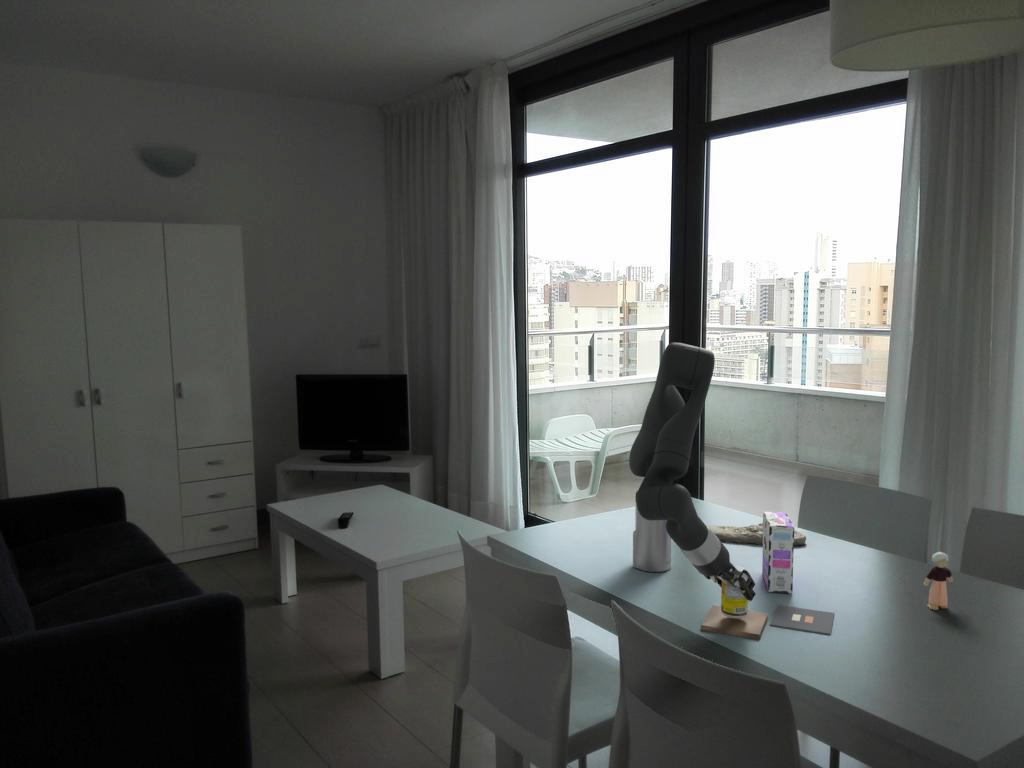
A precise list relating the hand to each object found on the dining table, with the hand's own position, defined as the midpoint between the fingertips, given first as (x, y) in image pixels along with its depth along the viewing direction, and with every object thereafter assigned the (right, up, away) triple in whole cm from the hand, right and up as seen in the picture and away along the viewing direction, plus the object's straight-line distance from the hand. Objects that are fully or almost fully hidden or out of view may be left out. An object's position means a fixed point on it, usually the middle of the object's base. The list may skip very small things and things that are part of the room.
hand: (740, 592), depth 171 cm
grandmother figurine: (+47, -5, +8) cm, 48 cm away
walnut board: (-1, -7, 0) cm, 7 cm away
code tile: (+14, -6, +1) cm, 15 cm away
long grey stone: (+18, -1, +60) cm, 63 cm away
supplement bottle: (-1, -5, -1) cm, 5 cm away
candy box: (+16, -4, +24) cm, 29 cm away
